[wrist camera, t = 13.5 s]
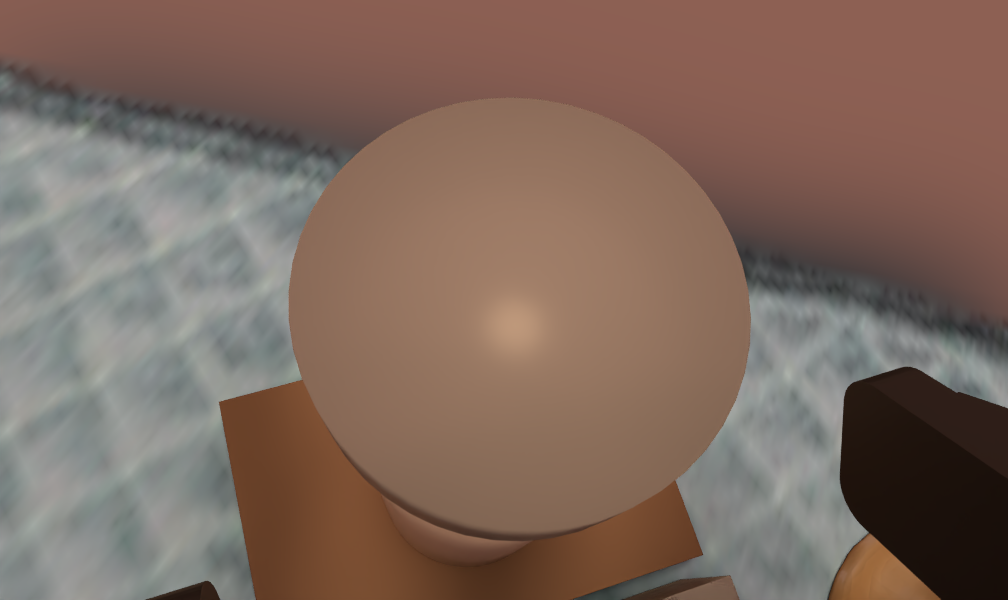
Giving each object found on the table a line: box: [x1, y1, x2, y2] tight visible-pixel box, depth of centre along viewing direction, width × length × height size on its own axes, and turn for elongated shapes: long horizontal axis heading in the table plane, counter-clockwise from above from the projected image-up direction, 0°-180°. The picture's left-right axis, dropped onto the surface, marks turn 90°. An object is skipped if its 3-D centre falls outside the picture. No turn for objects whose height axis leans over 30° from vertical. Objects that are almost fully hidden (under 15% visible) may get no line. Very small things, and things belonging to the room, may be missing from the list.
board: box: [219, 380, 703, 600], centre depth 23 cm, size 12×8×1 cm, turn 108°
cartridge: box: [289, 98, 751, 567], centre depth 16 cm, size 5×5×14 cm
